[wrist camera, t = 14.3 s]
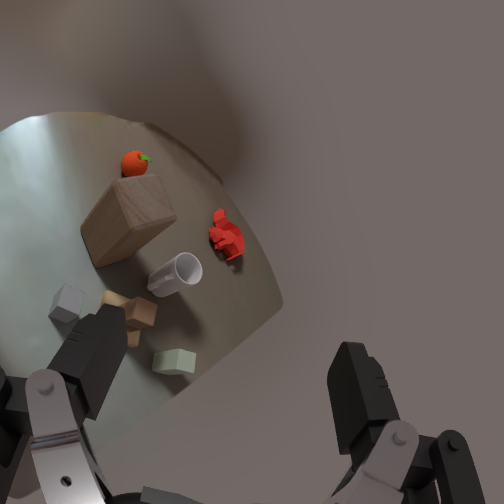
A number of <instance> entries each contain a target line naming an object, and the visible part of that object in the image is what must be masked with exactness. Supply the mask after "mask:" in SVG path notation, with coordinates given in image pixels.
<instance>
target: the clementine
mask: <svg viewBox="0 0 504 504" xmlns="http://www.w3.org/2000/svg"><path fill="white" fill-rule="evenodd" d="M147 160H150V161H151V159H150V158H149V157H148V156H146V155H144V154H143V153H142V152H139V151H131V152H129V153H127V154H126V155H125V156H124V157H123V159H122V161H121V170H122V172H123V174H124V175H125V176H127V177H133V176H139V175H143V174H144V173H145V172H146V170H147V167H148V161H147ZM151 162H152V161H151Z"/></svg>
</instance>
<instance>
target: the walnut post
mask: <svg viewBox="0 0 504 504" xmlns="http://www.w3.org/2000/svg"><path fill="white" fill-rule="evenodd" d="M119 307H123V308H124V309H125V316H126V327H127V331H128V332H133V331H137V330H141V329H145V328H148V327H152V326H153V325H154V320H155V316H156V311H157V307H158V305H157V304H155V303H152V302H150V301H148V300H145V299H143V298H141V297H139V296H138V297H136V298H134V299H132V300H130V301H128V302H126V303H124V304H122V305H120V306H119Z"/></svg>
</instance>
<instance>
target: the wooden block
mask: <svg viewBox="0 0 504 504" xmlns="http://www.w3.org/2000/svg"><path fill="white" fill-rule="evenodd" d="M176 219H177V216H176V213H175V211H174V209H173V207H172V204H171V202H170V200H169V198H168V195H167V193H166V191H165V189H164V186H163V184H162V182H161V180H160V177H159V176H158V175H157V174H155V173H154V174H146V175H139V176H133V177H126V178H120V179H116V180H114V181H113V182H112V183H111V185H110V186H109V187H108V189H107V190H106V191H105V193H104V194H103V195H102V197H101V198H100V200H99V201H98V202H97V204H96V205H95V206H94V208H93V209H92V211H91V212H90V214H89V215H88V216H87V218H86V219H85V221H84V222H83V224H82V225H81V233H82V236H83V238H84V241H85V244H86V246H87V249H88V251H89V254H90V256H91V259H92V261H93V264H94V266H95V267H96V268H101V267H104V266H107V265H109V264H112V263H115V262H118V261H120V260H123V259H126V258H128V257H131V256H132V255H133V254H134V253H135V252H137V251H138V250H139V249H140V248H142V247H143V246H144V245H145V244H147V243H148V242H149V241H151V240H152V239H153V238H154V237H156V236H157V235H158V234H160V233H161V232H162V231H163V230H165V229H166V228H167V227H169V226H170V225H171V224H173V223H174V222H175V221H176Z"/></svg>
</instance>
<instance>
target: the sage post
mask: <svg viewBox="0 0 504 504" xmlns="http://www.w3.org/2000/svg"><path fill="white" fill-rule="evenodd" d="M195 359H196V353H192V352H189V351H186V350H182V349H174V350H168V351H163V352H157V353H154V357H153V363H152V370H151V371H154V372H158V373H161V374H165V375H177V374H191V373H194V368H195Z"/></svg>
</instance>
